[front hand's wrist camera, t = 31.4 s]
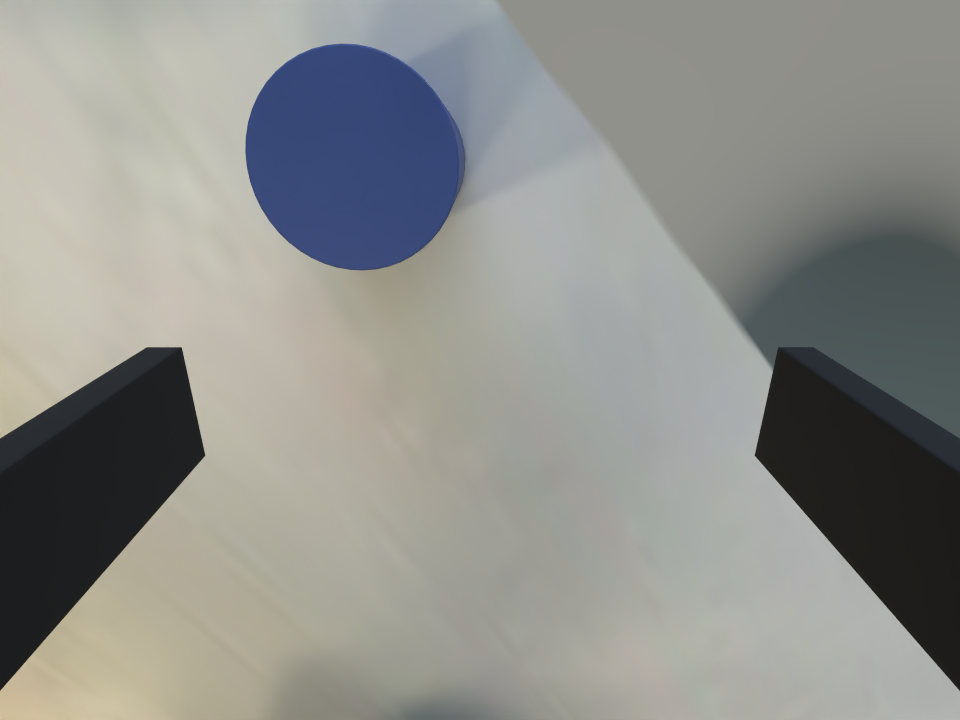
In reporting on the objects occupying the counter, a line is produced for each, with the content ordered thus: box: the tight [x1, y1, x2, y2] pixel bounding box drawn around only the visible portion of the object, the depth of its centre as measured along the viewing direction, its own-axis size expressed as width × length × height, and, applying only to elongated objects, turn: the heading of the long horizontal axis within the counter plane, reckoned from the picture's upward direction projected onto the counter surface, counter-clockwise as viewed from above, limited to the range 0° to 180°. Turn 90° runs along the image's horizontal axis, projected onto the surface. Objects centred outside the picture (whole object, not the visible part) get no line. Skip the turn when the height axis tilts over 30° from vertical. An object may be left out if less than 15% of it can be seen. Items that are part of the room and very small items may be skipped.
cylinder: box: [246, 44, 465, 270], centre depth 25 cm, size 8×8×11 cm
